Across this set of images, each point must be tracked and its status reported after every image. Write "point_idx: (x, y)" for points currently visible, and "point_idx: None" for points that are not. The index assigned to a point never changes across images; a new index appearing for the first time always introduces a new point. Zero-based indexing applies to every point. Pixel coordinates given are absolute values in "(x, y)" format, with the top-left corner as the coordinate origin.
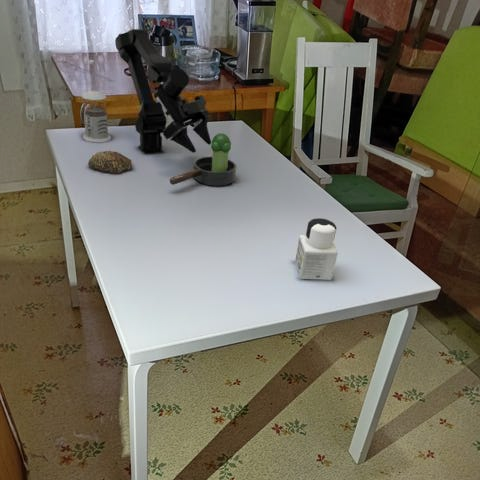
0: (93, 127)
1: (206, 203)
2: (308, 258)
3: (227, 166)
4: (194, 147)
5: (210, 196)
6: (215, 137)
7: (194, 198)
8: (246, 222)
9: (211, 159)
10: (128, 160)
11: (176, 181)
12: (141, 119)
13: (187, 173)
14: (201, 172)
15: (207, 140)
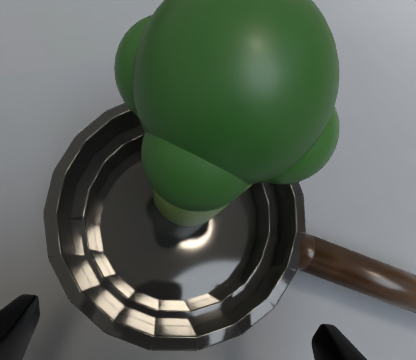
0: None
1: (394, 161)
2: None
3: (87, 171)
4: (343, 351)
5: (342, 168)
6: (324, 104)
7: (392, 212)
8: (408, 34)
9: (76, 273)
10: None
11: None
12: None
13: (405, 281)
14: (311, 235)
15: (13, 350)
